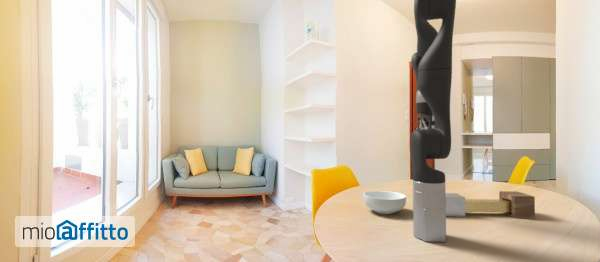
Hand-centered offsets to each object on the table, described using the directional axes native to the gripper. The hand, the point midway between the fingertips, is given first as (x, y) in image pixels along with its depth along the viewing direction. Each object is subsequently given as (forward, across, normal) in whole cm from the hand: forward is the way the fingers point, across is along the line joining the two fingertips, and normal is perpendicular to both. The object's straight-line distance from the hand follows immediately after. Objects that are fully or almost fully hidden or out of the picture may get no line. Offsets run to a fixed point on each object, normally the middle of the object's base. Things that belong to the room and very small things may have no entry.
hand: (426, 143), depth 110 cm
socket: (+28, +1, -33) cm, 44 cm away
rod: (+27, +1, -22) cm, 35 cm away
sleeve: (+28, +1, -6) cm, 29 cm away
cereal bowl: (+28, +3, +16) cm, 33 cm away
